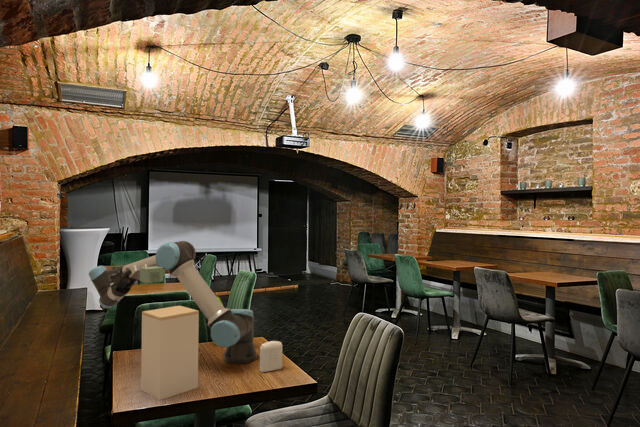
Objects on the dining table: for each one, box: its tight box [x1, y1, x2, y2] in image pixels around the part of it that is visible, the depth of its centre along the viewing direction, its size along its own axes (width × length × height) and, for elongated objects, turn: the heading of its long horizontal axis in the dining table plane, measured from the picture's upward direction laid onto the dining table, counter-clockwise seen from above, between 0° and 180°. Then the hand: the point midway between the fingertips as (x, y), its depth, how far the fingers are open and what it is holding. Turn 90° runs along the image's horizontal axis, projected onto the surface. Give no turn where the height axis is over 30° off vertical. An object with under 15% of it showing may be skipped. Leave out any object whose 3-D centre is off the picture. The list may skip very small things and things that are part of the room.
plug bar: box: [126, 266, 164, 284], centre depth 188 cm, size 22×7×6 cm, turn 48°
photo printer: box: [259, 340, 283, 373], centre depth 194 cm, size 10×4×12 cm, turn 123°
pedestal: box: [140, 305, 200, 401], centre depth 172 cm, size 14×16×30 cm
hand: (140, 267), depth 188 cm, fingers closed on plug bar, 4 cm apart
